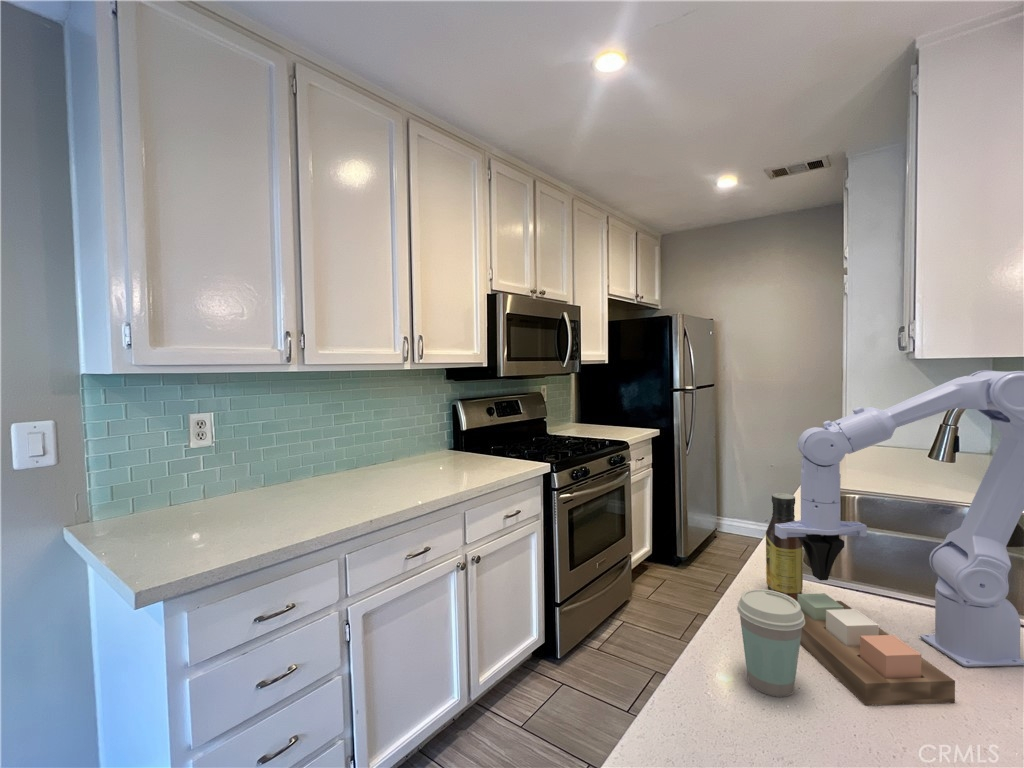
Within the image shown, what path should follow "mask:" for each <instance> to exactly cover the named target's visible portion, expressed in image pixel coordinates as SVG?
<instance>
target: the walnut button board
mask: <svg viewBox="0 0 1024 768" xmlns="http://www.w3.org/2000/svg"><path fill="white" fill-rule="evenodd" d="M835 601H836V602H838V603H839V604H840V605H842V606H843V607H844V609H853V608H852V607H850V606H849V605H848V604H846V603H845V602H843V601H842V600H835ZM802 612H803V614H804V619H805V624H804V626H803V627H802V632H801V640H800V646H802V647H803V649H805V650H806V651H807V652H808V653H809V654H810V655H812V656H813V657H814V659H816V660H817V661H818V662H819V663H820V664H821V665H822V666H823V667H824V668H825V669H826V670H827V671H828V672H829V673H830V674H832V675H833V676H834V677H835V679H836V680H838V681H839V682H840V683H841V684H842V685H843V686H844V687H845V688H846V689H848V691H850V693H852V694H853V695H854V696H855V697H856V698H857V699H858V700H859V701H860V702H861V703H863V704H864V705H865V706H891V705H892V706H894V705H898V706H899V705H928V704H929V705H930V704H955V703H956V700H955V699H956V680H955V679H953V678H952V677H950V676H949V675H948V674H946V673H945V672H943V671H942V670H940V669H939V668H937V667H936V666H934V665H933V664H932V663H931V662H928V660H926V659H925V658H923V657H922V656H921V678H898V679H885V678H884V677H883V676H881V675H880V674H879V673H878V672H877V671H875V670H874V669H873V668H872V667H871V666H869V665H868V664H867V663H866V662H864V661H863V660H862V659H861V658H860V646H850V647H846V646H845V645H844V644H843V643H841V642H840V641H839V640H838V639H837V638H835V637H834V636H833V635H832V634H830V633H829V632H828V631H827V630H826V620H813V619H812V618H811V617H810V616H809V615H807V614H806V613H805V612H804V611H803V610H802ZM879 635H890V634H888V633H887V632H886V631H884V630H883V629H882V628H880V627H879Z"/></svg>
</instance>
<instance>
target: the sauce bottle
mask: <svg viewBox="0 0 1024 768" xmlns="http://www.w3.org/2000/svg"><path fill="white" fill-rule="evenodd" d="M771 503H772V514H771V515H772V516H771V519H770V522H769V523H768V526H767V527H766V531H765V556H766V557H765V561H766V562H765V565H766V567H765V569H766V571H765V573H766V575H765V576H766V580H765V581H766V582H765V583H766V585H767V586H766V587H767V590H771V591H776V592H780V593H783V594H785V595H788V596H790V597H792V598H793V599H795V600H798V594H803V577H804V576H803V573H804V571H803V546H802V544H801V542H800V540H799V539H798V537H787V539H781V538H779V537H778V536H776V535H775V524H782V523H788V522H794V521H796V520H795V517H796V516H795V505H796V496H795V495H793V494H791V493H786V492H776V493H772V494H771Z"/></svg>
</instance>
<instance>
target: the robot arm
mask: <svg viewBox="0 0 1024 768" xmlns="http://www.w3.org/2000/svg"><path fill="white" fill-rule="evenodd" d="M953 409H962V410H963V409H964V410H977V411H978V412H979V413H981V414H983V415H984V416H986V417H987V418H988V419H989V420H990V421H991V423H992V424H993V426H994V427H995V428H996V430H997V431H998V432H999V433H1000V434H1001V439H1000V441H999V443H998V445H997V448H996V450H995V451H994V454H993V456H992V458H991V461H990V462H989V465H988V467H987V469H986V471H985V473H984V474H983V477H982V479H981V481H980V484H979V486H978V488H977V490H976V492H975V494H974V497H973V499H972V502H971V503H970V506H969V507H968V510H967V512H966V514H965V515H964V517H963V520H962V522H961V525H960V526H959V528H956V529H954V530H953V531H951V532H949V533H947V535H946V537H945V538H944V541H943V542H942V543H940V544H939V545H938V546H936V547H934V548H933V550H932V551H931V552H930V555H929V558H928V559H929V561H928V562H929V566H930V568H931V569H932V571H933V572H934V574H936V575H937V578H938V579H937V582H936V583H935V587H934V588H935V592H934V593H935V594H934V596H935V598H934V601H935V602H934V603H935V604H934V606H935V610H934V613H935V614H934V615H935V616H934V624H935V625H934V633H928V634H927V633H926V634H920V635H919V638H920V639H921V640H923V641H924V642H926V643H927V644H929V645H931V646H932V647H934V648H935V649H937V650H938V651H940V653H943V654H944V655H945V656H947V657H949V658H950V659H952V660H954V662H956V663H958V664H959V665H960V666H963V667H966V668H967V667H969V668H970V667H971V668H972V667H974V668H975V667H1001V666H1002V667H1003V666H1004V667H1005V666H1024V659H1023V658H1021V623H1022V622H1021V618H1020V615H1019V613H1018V610H1017V609H1016V607H1015V606H1014V604H1013V603H1011V602H1010V600H1008V598H1007V596H1008V595H1009V589H1010V585H1009V581H1008V576H1009V572H1010V570H1011V568H1012V562H1011V560H1010V556H1009V553H1008V550H1007V546H1008V544H1009V542H1010V540H1011V537H1012V535H1013V533H1014V531H1015V529H1016V526H1017V525H1018V523H1019V521H1020V518H1021V516H1022V514H1023V512H1024V370H1015V371H997V370H990V369H985V370H978V371H976V372H973V373H971V374H969V375H964V376H960V377H956V378H954V379H951V380H949V381H947V382H943V383H942V384H939V385H937V386H936V387H933V388H931V389H929V390H926V391H923V392H921V393H919V394H917V395H915V396H913V397H910V398H908V399H905V400H903V401H900V402H898V403H897V404H894V405H891V406H889V407H887V408H886V409H880V408H876V407H873V406H869V407H865V408H864V407H863V406H858V407H855V408H853V409H852V413H851V414H848V415H846V416H843V417H841V418H839V419H836V420H834V421H831V420H826V421H824V422H822V424H823V427H818V426H815V427H809V428H808V429H806V430H804V431H802V433H801V434H800V436H799V438H798V441H797V442H796V445H797V449H798V452H800V453H801V462H800V466H801V470H800V520H795V521H794V522H788V523H782V524H775V535H776V536H778V537H779V538H781V539H787V537H798V539H799V540H800V542H801V544H802V548H803V550H804V551H805V552H804V553H805V554H806V556H807V559H808V562H809V565H810V568H811V574H812V576H813V577H814V578H816V579H817V580H818V581H828V580H829V578H830V577H829V576H830V573H831V571H832V567H833V565H834V563H835V561H836V558H837V557H838V555H839V554H840V553H841V551H842V550H844V548H845V540H844V539H842V538H840V536H842V537H844V536H845V537H847V536H848V537H849V536H858V537H865V538H866V537H867V534H868V533H867V532H868V531H867V530H868V529H867V528H868V527H867V524H864V523H861V522H860V521H848V520H847V521H845V520H844V521H843V520H841V511H842V510H841V471H840V470H841V469H840V468H841V467H840V464H841V463H840V462H842V460H844V458H845V456H846V454H848V455H851V454H853V453H856V452H858V451H861V450H863V449H866V448H869V447H872V446H874V445H877V444H880V443H883V442H886V441H887V440H890V439H892V437H893V435H894V432H895V431H896V429H898V428H899V427H903V426H906V425H908V424H912V423H914V422H917V421H921V420H923V419H926V418H928V417H929V418H930V417H933V416H935V415H938V414H942V413H944V412H947V411H950V410H953ZM1006 598H1007V599H1006Z"/></svg>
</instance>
